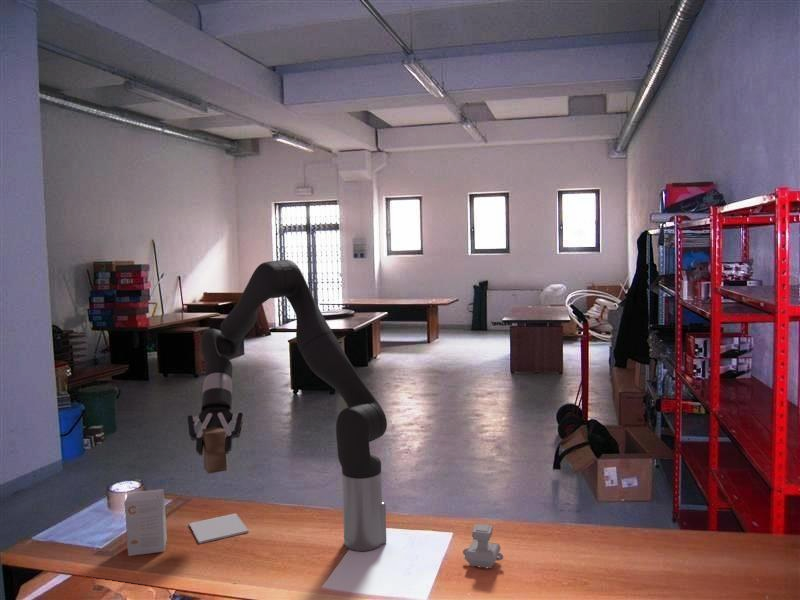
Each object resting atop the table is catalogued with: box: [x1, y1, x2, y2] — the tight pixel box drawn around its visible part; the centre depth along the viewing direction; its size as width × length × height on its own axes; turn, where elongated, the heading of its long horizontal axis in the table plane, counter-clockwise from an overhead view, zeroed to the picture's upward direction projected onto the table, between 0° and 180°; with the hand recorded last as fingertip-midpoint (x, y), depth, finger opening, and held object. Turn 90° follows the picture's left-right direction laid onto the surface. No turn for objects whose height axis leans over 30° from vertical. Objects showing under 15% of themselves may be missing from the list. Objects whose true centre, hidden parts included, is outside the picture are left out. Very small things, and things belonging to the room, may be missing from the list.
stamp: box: [462, 523, 504, 569], centre depth 144 cm, size 9×7×8 cm
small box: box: [124, 488, 168, 557], centre depth 155 cm, size 8×6×13 cm
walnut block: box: [202, 427, 228, 475], centre depth 163 cm, size 4×4×10 cm
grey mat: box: [188, 512, 249, 545], centre depth 165 cm, size 12×12×1 cm
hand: (213, 452), depth 162 cm, fingers closed on walnut block, 5 cm apart
